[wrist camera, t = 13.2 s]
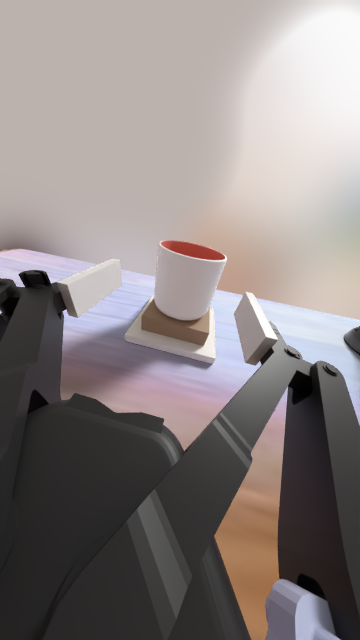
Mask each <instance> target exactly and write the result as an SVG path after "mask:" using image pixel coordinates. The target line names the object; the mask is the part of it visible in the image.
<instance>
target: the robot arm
mask: <svg viewBox="0 0 360 640" xmlns="http://www.w3.org/2000/svg"><path fill="white" fill-rule="evenodd" d="M18 275H19V276H20V278H21V280H22V282H23V284H24V286H25V287H17V286H16V285H15V283H14V281H13V280H11V279H1V278H0V310H1V312H2V313H1V314H0V640H251V638H250V636H249V633H248V630H247V627H246V624H245V622H244V619H243V616H242V613H241V610H240V607H239V605H238V602H237V599H236V596H235V593H234V591H233V588H232V585H231V582H230V579H229V577H228V574H227V571H226V568H225V565H224V562H223V560H222V557H221V554H220V551H219V548H218V546H217V543H216V540H215V537H214V535H215V533H216V531H217V529H218V527H219V525H220V523H221V521H222V520H223V518H224V516H225V514H226V512H227V510H228V508H229V506H230V504H231V502H232V500H233V499H234V497H235V495H236V493H237V491H238V489H239V487H240V485H241V483H242V481H243V479H244V478H245V476H246V474H247V472H248V470H249V468H250V465H251V463H252V457H251V451H252V449H253V447H254V445H255V444H256V442H257V440H258V438H259V436H260V435H261V433H262V431H263V429H264V428H265V426H266V424H267V422H268V420H269V419H270V417H271V415H272V413H273V411H274V410H275V408H276V406H277V404H278V402H279V401H280V399H281V397H282V395H283V394H284V392H285V390H286V388H287V386H288V396H287V410H286V423H285V437H284V451H283V465H282V479H281V492H280V506H279V520H278V563H279V578H280V580H278V581H276V582H275V584H274V585H273V587H272V589H271V593H270V594H269V595H268V597H267V599H266V605H265V607H266V618H267V622H268V631H267V636H266V640H360V426H359V423H358V420H357V417H356V414H355V410H354V407H353V404H352V401H351V398H350V395H349V392H348V389H347V386H346V383H345V379H344V377H343V375H342V374H341V373H340V372H339V370H338V369H337V368H335V367H334V366H333V365H330V364H329V363H326V362H324V361H317V362H316V363H315V364H311V363H309V362H307V361H305V360H303V359H302V356H301V354H300V353H299V352H298V351H297V350H296V349H294V348H293V347H291V346H288V345H286V343H285V341H284V340H283V338H282V336H281V335H280V333H279V331H278V330H277V328H276V326H275V325H274V324H273V323H272V322H271V321H268V320H267V318H266V316H265V315H264V313H263V311H262V309H261V307H260V305H259V304H258V302H257V300H256V298H255V296H254V295H253V294H252V293H248V292H245V294H244V296H243V298H242V299H241V301H240V303H239V305H238V307H237V309H236V311H235V313H234V316H235V320H236V325H237V329H238V333H239V337H240V342H241V346H242V350H243V355H244V359H245V363H248V364H252V365H257V363H258V362H259V361H260V362H261V364H262V366H261V367H260V368H259V369H258V370H257V371H256V372H255V373H254V374H253V375H252V377H251V378H250V379H249V380H248V381H247V382H246V383H245V384H244V386H243V387H242V388H241V389H240V390H239V391H238V392H237V393H236V394H235V396H234V397H233V398H232V399H231V400H230V401H229V402H228V403H227V405H226V406H225V407H224V408H223V409H222V410H221V411H220V412H219V413H218V415H217V416H216V417H215V418H214V419H213V420H212V421H211V422H210V424H209V425H208V426H207V427H206V428H205V429H204V430H203V431H202V432H201V434H200V435H199V436H198V437H197V438H196V439H195V440H194V441H193V442H192V443H191V445H190V446H189V447H188V448H187V449H186V450H185V451H184V450H183V448H182V446H181V444H180V442H179V441H178V439H177V438H176V436H175V435H174V434H173V433H172V432H171V431H170V430H169V429H168V428H167V427H165V426H164V425H163V422H164V419H163V418H159V417H156V416H153V415H149V414H146V413H142V412H140V413H115V412H113V411H112V410H111V409H109V408H108V407H106V406H105V405H103V404H102V403H101V402H99V401H98V400H96V399H93V398H90V397H86V396H83V395H79V394H76V393H74V395H73V396H72V397H71V399H70V400H62V401H61V397H60V380H61V361H62V342H63V323H64V315H63V312H62V311H64V310H66V309H67V312H68V314H69V316H73V317H77V318H79V317H80V316H81V315H83V314H84V313H85V312H87V311H88V310H89V309H91V308H92V307H93V306H95V305H96V304H97V303H99V302H100V301H101V300H103V299H104V298H105V297H107V296H108V295H109V294H111V293H112V292H113V291H115V290H116V289H117V288H119V287H120V286H121V285H122V279H121V265H120V260H118V259H110V260H108V261H105V262H103V263H101V264H98V265H96V266H93V267H91V268H89V269H86V270H84V271H81V272H79V273H76V274H74V275H71V276H69V277H67V278H64V279H62V280H59V281H57V282H55V283H52V284H51V283H50V280H49V278H48V275H47V273H46V272H44V271H40V270H29V271H24V272H21V273H20V274H18ZM344 338H345V340H346V342H347V343H348V344H349V345H350V346H351V347H352V348H353V349H354V350H355V351H356V352H358V353H359V354H360V326H359V327H357V328H354V329H352V330H350V331H349V332H348V333H347V334H345V335H344Z"/></svg>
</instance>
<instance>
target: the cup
mask: <svg viewBox="0 0 360 640" xmlns="http://www.w3.org/2000/svg"><path fill="white" fill-rule="evenodd" d="M226 261H227V257H226V256H225V255H224V254H222V253H220V252H218V251H216V250H214V249H211V248H208V247H205V246H202V245H198V244H193V243H189V242H182V241H173V240H165V241H161V242H159V244H158V255H157V268H156V281H155V293H154V301H155V304H156V306H157V308H158V309H159V310H160V311H161V312H162V313H164V314H165V315H167V316H169V317H172V318H174V319H178V320H195V319H198V318H201V317H202V316H204V315H205V314H206V313H207V311H208V309H209V307H210V304H211V301H212V299H213V296H214V293H215V291H216V288H217V285H218V282H219V280H220V277H221V274H222V272H223V269H224V266H225V264H226Z"/></svg>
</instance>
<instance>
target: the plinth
mask: <svg viewBox="0 0 360 640" xmlns="http://www.w3.org/2000/svg"><path fill="white" fill-rule="evenodd" d="M124 336H125V341H127V342H131V343H135V344H139V345H143V346H146V347H150V348H154V349H158V350H161V351H165V352H169V353H173V354H176V355H180V356H184V357H188V358H191V359H195V360H199V361H203V362H206V363H210V364H213V363H214V361H215V359H216V353H215V325H214V309H212V308H210V307H209V309H208V311H207V313H206V314H205V315H204V316H202V317H201V318H198V319H195V320H178V319H174V318H172V317H169V316H167V315H165V314H164V313H162V312H161V311H160V310H159V309H158V308H157V306H156V304H155V301H154V295H153V296H152V298H151V299H150V300H149V302H148V303H147V304H146V306H145V307H144V308H143V310H142V311H141V313H140V314H139V315H138V317H137V318H136V319H135V321H134V322H133V323H132V325H131V326H130V327H129V329H128V330H127V332H126V333H125V334H124Z"/></svg>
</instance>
